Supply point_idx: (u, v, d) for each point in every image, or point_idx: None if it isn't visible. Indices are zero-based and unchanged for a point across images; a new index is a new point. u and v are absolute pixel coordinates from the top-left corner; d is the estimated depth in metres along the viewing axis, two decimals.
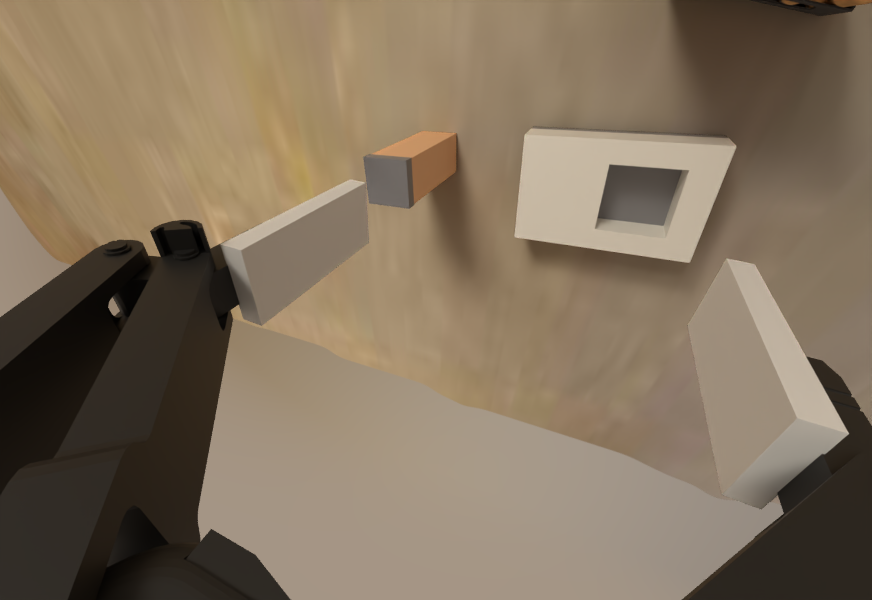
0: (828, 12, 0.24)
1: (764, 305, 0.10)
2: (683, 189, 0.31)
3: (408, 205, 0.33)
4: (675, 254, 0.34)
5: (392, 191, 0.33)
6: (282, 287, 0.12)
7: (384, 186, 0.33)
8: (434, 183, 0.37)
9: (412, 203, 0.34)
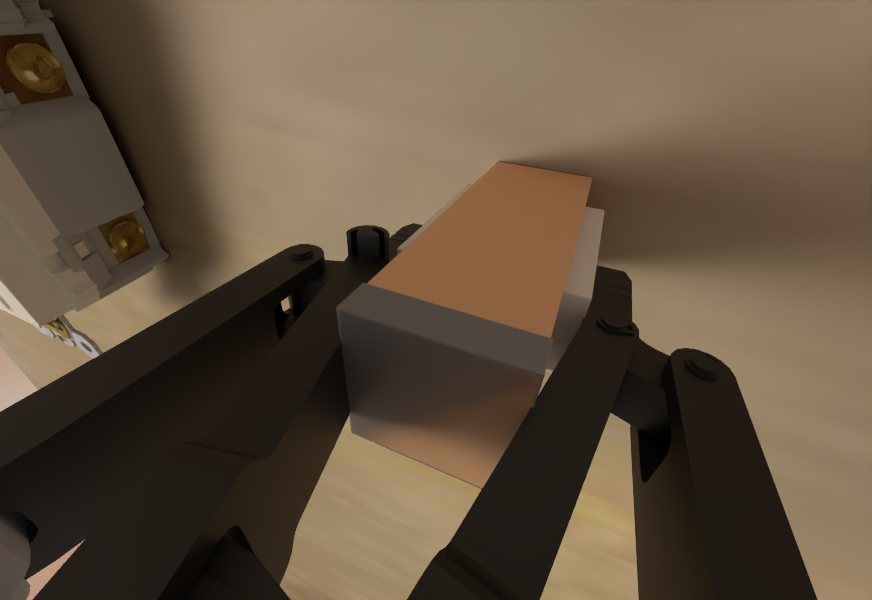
0: None
1: (590, 234, 0.13)
2: None
3: (526, 369, 0.06)
4: None
5: (459, 406, 0.08)
6: None
7: (441, 424, 0.08)
8: (560, 234, 0.11)
9: (537, 345, 0.07)
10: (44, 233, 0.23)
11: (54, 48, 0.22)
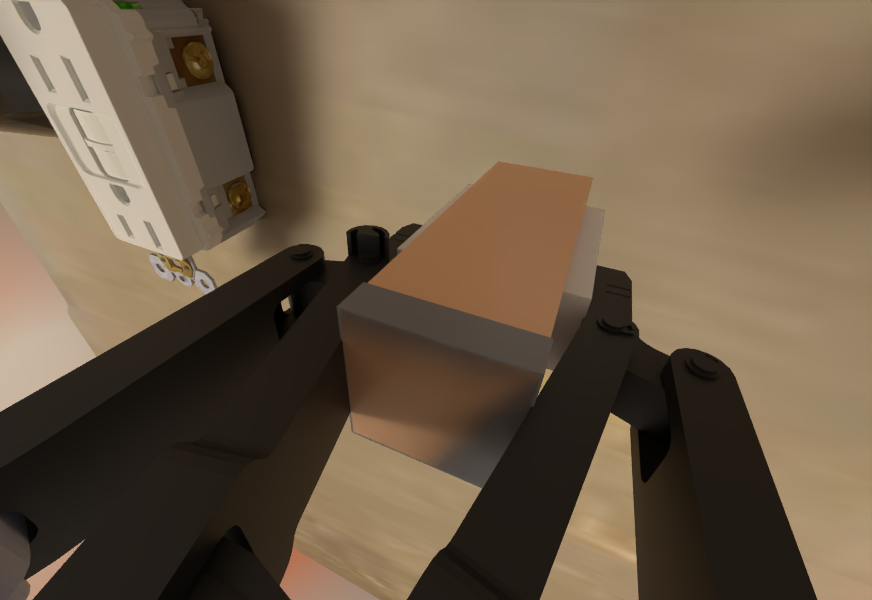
0: None
1: (590, 234, 0.13)
2: None
3: (526, 368, 0.06)
4: None
5: (458, 404, 0.08)
6: None
7: (441, 423, 0.08)
8: (560, 234, 0.11)
9: (537, 345, 0.07)
10: (195, 184, 0.30)
11: (208, 46, 0.29)
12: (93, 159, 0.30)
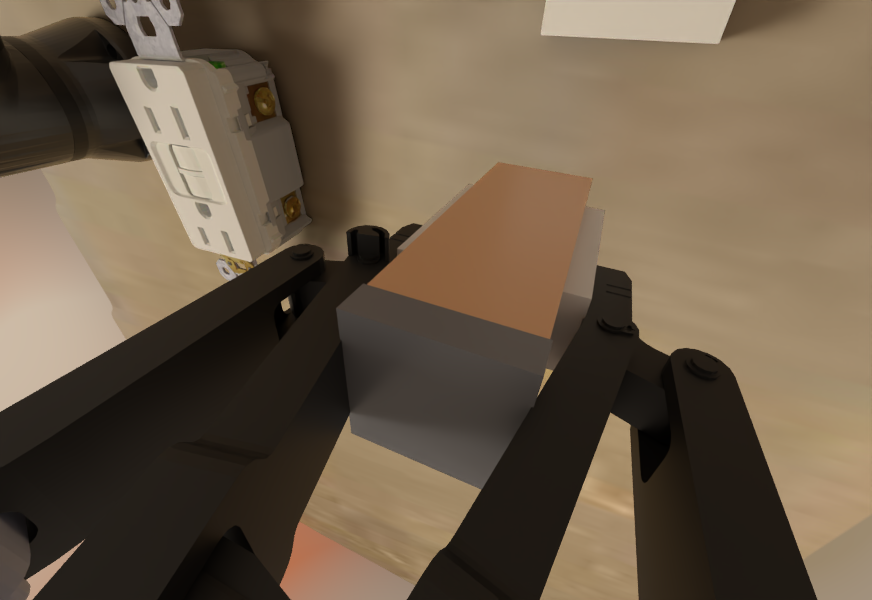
0: None
1: (590, 234, 0.13)
2: None
3: (525, 370, 0.06)
4: None
5: (458, 406, 0.08)
6: None
7: (440, 424, 0.08)
8: (560, 235, 0.11)
9: (537, 346, 0.07)
10: (263, 199, 0.38)
11: (271, 89, 0.37)
12: (183, 183, 0.37)
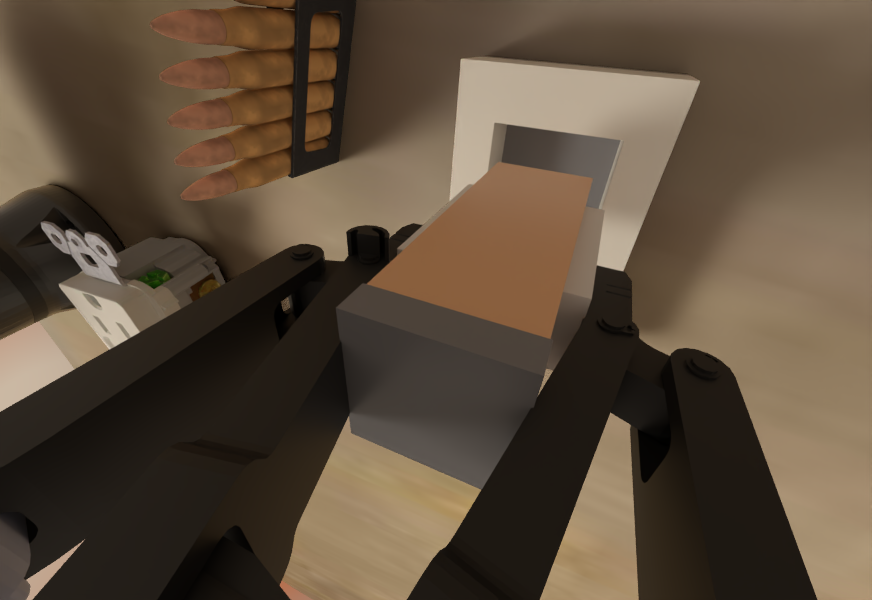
0: None
1: (590, 233, 0.13)
2: (526, 125, 0.18)
3: (525, 370, 0.06)
4: (669, 115, 0.16)
5: (458, 406, 0.08)
6: None
7: (440, 425, 0.08)
8: (560, 234, 0.11)
9: (537, 346, 0.07)
10: None
11: (217, 277, 0.39)
12: None
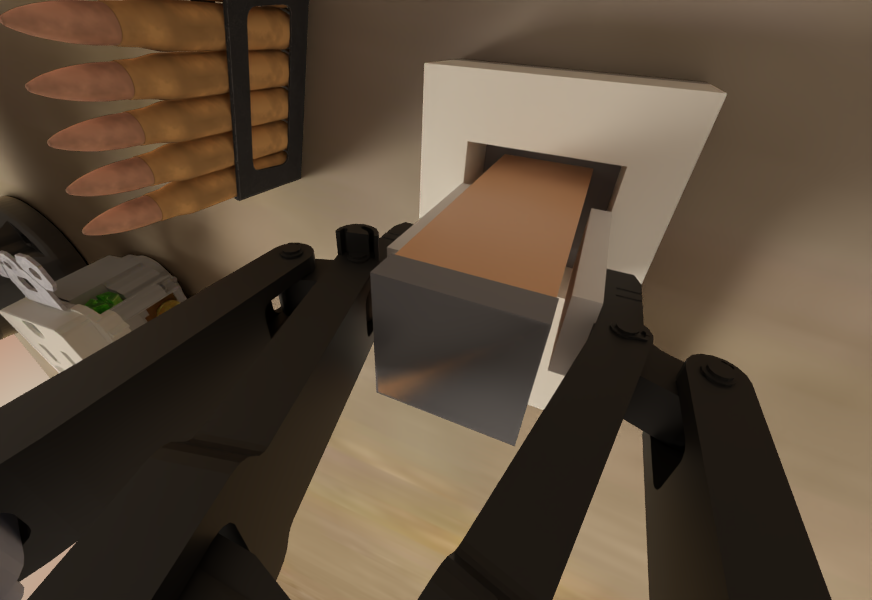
0: None
1: (599, 236, 0.12)
2: (506, 145, 0.15)
3: (536, 320, 0.08)
4: (685, 136, 0.12)
5: (476, 358, 0.09)
6: None
7: (459, 377, 0.09)
8: (564, 216, 0.12)
9: (545, 302, 0.08)
10: None
11: (178, 297, 0.36)
12: None
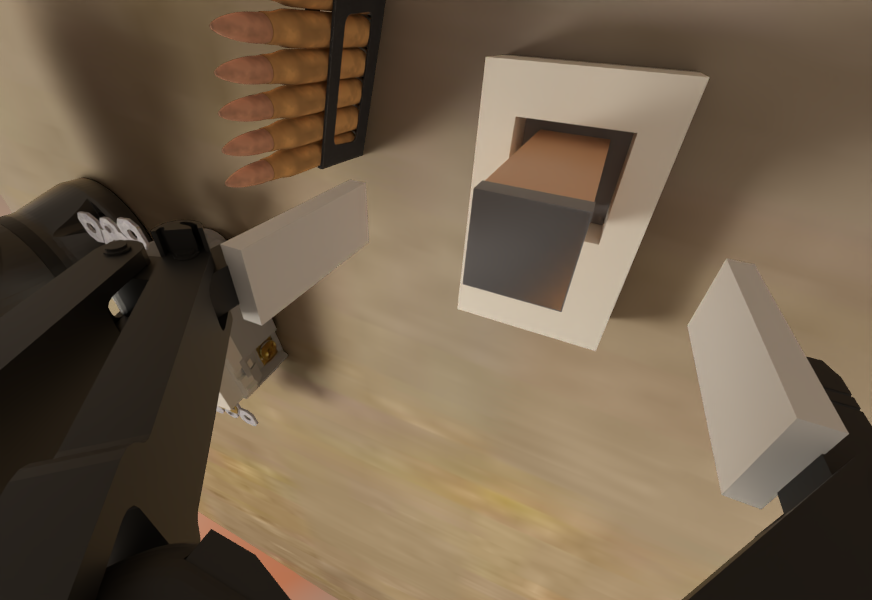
0: None
1: (764, 305, 0.10)
2: (545, 119, 0.19)
3: (583, 211, 0.12)
4: (679, 109, 0.17)
5: (540, 244, 0.14)
6: (282, 287, 0.12)
7: (527, 261, 0.14)
8: (592, 165, 0.17)
9: (587, 203, 0.13)
10: (236, 359, 0.42)
11: None
12: None
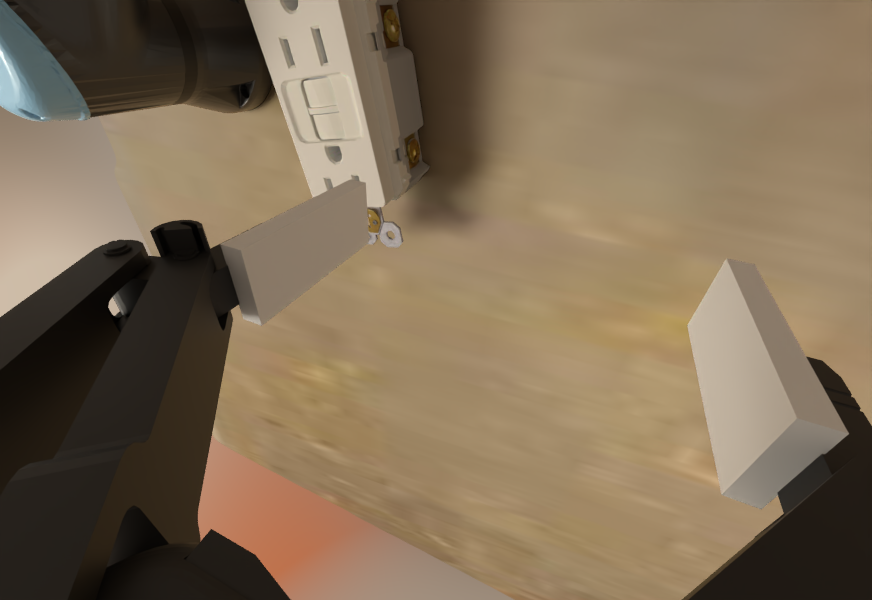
0: None
1: (764, 305, 0.10)
2: None
3: None
4: None
5: None
6: (282, 287, 0.12)
7: None
8: None
9: None
10: (396, 132, 0.35)
11: (395, 14, 0.34)
12: (312, 126, 0.35)
